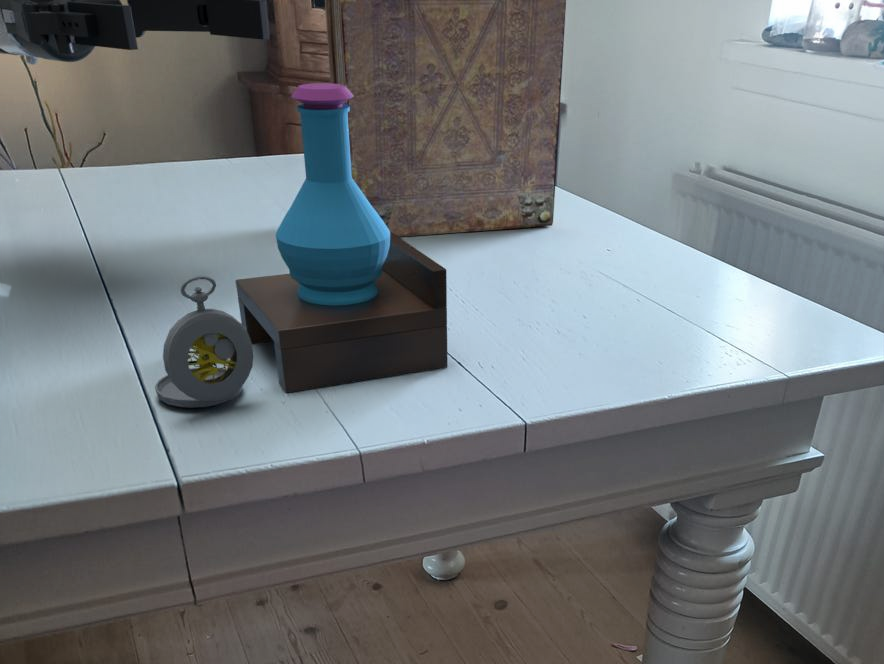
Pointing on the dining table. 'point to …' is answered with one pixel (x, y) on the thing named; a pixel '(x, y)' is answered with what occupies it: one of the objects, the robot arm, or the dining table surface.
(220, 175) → the dining table surface
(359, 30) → the book
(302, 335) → the shelf
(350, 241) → the perfume bottle
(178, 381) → the pocket watch
